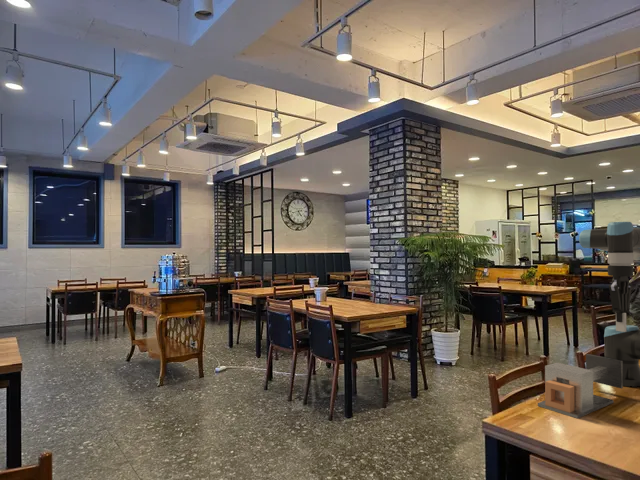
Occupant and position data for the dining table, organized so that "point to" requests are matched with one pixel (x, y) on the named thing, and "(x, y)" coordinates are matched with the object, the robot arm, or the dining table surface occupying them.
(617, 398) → the dining table surface
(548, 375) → the block
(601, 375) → the grey crossbar bracket
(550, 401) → the block
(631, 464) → the dining table surface
